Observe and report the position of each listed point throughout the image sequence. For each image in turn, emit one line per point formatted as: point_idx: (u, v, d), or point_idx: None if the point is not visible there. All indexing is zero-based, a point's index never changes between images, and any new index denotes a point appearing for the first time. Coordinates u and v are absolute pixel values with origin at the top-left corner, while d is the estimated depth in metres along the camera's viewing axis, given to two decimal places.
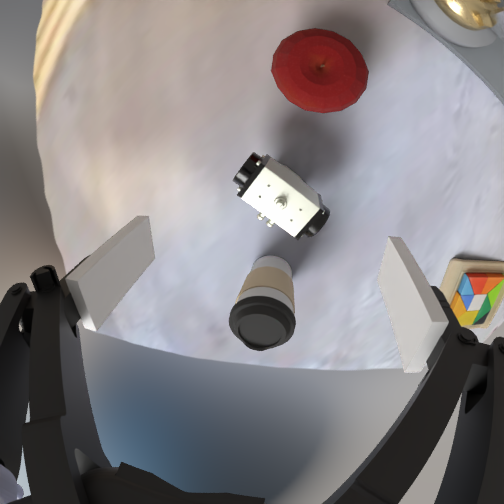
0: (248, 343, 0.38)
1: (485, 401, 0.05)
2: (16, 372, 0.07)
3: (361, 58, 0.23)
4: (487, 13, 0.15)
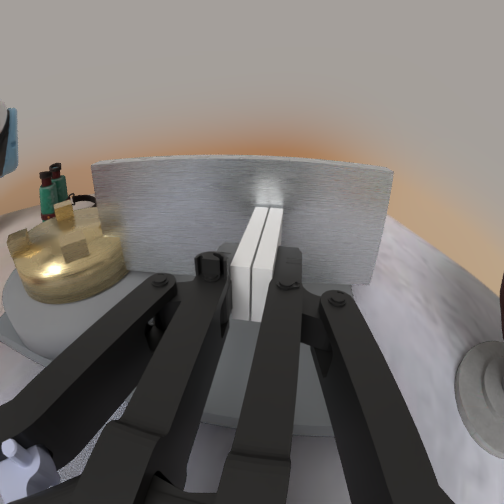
0: None
1: (337, 363, 0.07)
2: (119, 375, 0.08)
3: None
4: (97, 236, 0.18)
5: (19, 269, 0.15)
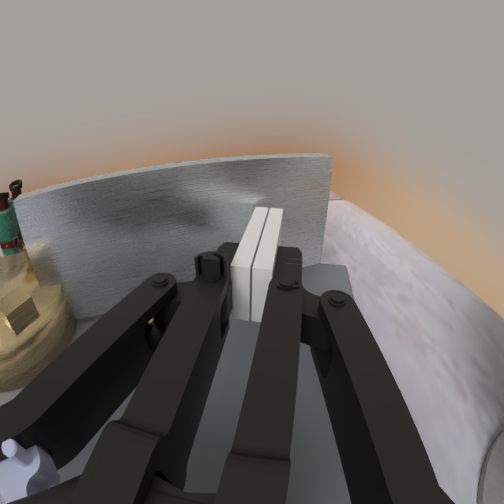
0: None
1: (337, 363, 0.07)
2: (119, 375, 0.08)
3: None
4: (34, 290, 0.13)
5: None
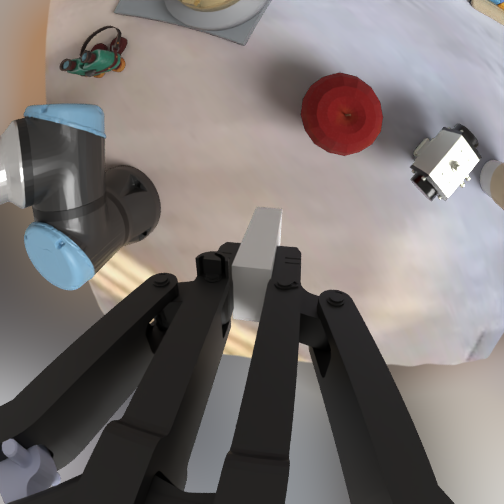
0: None
1: (335, 363, 0.07)
2: (120, 375, 0.08)
3: (333, 79, 0.28)
4: None
5: None
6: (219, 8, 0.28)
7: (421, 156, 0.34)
